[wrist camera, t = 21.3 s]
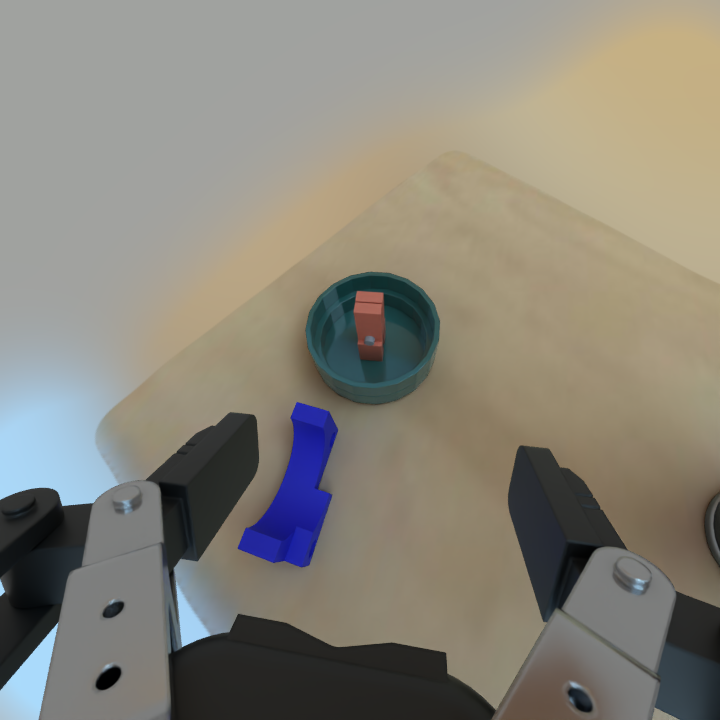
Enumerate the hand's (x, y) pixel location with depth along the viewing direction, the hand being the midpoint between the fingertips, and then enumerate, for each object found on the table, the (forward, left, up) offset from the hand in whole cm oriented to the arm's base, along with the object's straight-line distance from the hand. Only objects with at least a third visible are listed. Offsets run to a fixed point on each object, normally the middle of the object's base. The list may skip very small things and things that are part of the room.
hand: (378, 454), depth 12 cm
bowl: (+3, -16, -25) cm, 30 cm away
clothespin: (+3, -16, -24) cm, 29 cm away
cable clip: (+7, -1, -25) cm, 26 cm away
